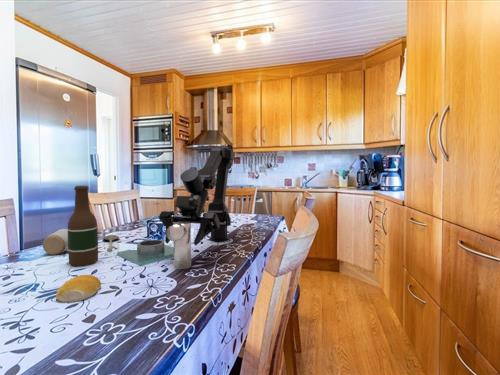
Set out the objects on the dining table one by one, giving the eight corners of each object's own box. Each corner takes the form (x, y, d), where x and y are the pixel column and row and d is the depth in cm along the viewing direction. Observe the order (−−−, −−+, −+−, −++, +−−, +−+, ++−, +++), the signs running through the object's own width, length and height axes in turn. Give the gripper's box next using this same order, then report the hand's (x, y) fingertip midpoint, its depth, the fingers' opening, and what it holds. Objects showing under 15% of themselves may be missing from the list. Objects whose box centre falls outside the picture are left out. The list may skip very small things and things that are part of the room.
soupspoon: (120, 239, 116) (103, 242, 113) (119, 232, 115) (102, 234, 113) (119, 251, 96) (98, 254, 93) (119, 242, 96) (98, 245, 93)
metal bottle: (179, 262, 82) (178, 220, 82) (194, 264, 81) (193, 221, 81) (166, 271, 75) (165, 225, 74) (182, 273, 74) (181, 226, 73)
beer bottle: (84, 268, 78) (81, 186, 77) (62, 266, 80) (59, 186, 78) (104, 259, 86) (101, 185, 84) (83, 258, 87) (81, 185, 86)
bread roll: (104, 284, 67) (104, 268, 67) (92, 301, 58) (91, 283, 58) (67, 287, 65) (67, 271, 65) (49, 305, 56) (48, 287, 56)
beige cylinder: (40, 256, 89) (40, 233, 89) (54, 249, 97) (53, 228, 97) (75, 255, 91) (75, 233, 91) (85, 248, 99) (85, 228, 99)
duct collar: (159, 245, 102) (159, 235, 102) (184, 253, 92) (184, 242, 92) (117, 255, 90) (116, 243, 90) (140, 265, 80) (140, 252, 80)
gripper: (161, 185, 85) (140, 226, 74) (216, 186, 80) (202, 230, 70) (174, 207, 93) (156, 247, 82) (225, 209, 88) (213, 251, 78)
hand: (180, 243), depth 78 cm, fingers open, 9 cm apart
